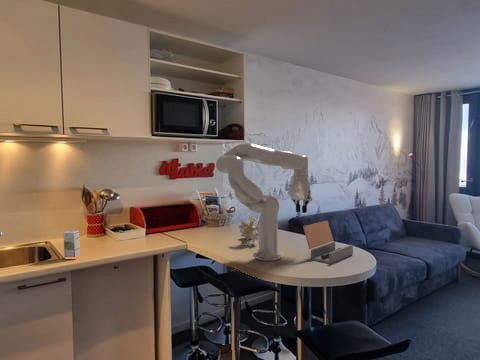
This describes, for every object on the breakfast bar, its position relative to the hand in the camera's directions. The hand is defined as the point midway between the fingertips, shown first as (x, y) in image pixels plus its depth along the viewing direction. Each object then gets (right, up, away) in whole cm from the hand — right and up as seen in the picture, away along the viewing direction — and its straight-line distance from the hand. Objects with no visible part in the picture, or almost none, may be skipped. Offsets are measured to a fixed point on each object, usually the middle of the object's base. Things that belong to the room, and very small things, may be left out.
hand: (301, 212), depth 182 cm
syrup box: (-121, -24, -5) cm, 124 cm away
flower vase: (-27, -21, +24) cm, 42 cm away
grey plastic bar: (+13, -22, -12) cm, 28 cm away
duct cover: (+8, -11, -7) cm, 15 cm away
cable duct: (+13, -22, -12) cm, 28 cm away
